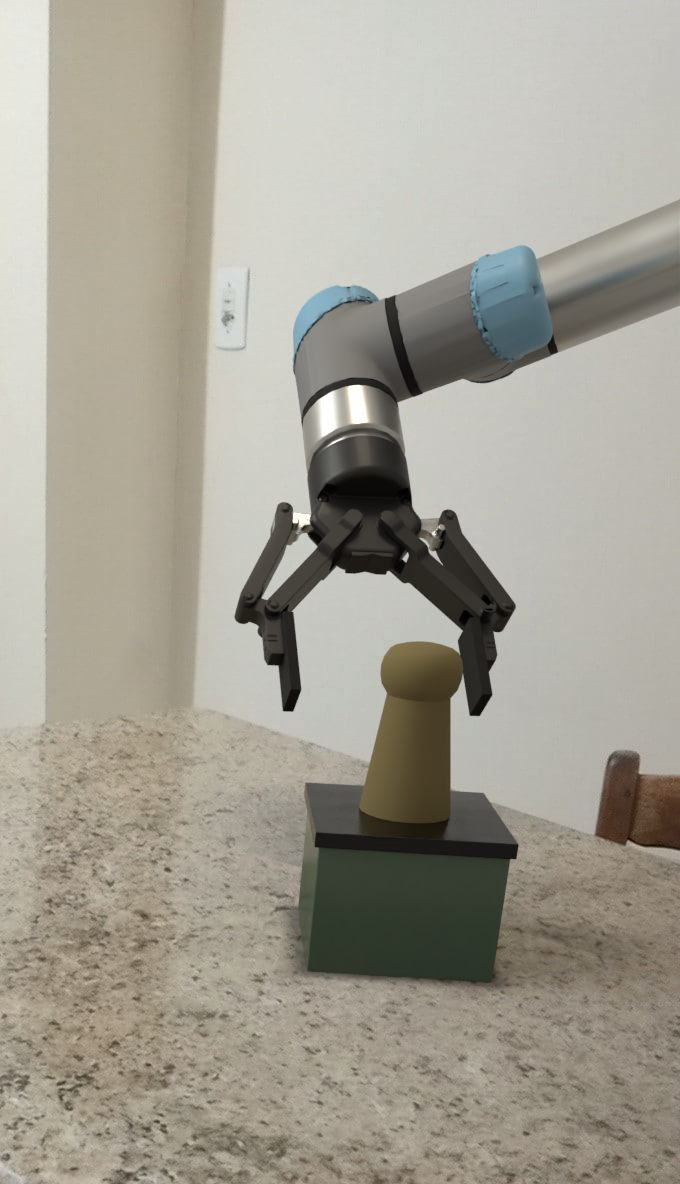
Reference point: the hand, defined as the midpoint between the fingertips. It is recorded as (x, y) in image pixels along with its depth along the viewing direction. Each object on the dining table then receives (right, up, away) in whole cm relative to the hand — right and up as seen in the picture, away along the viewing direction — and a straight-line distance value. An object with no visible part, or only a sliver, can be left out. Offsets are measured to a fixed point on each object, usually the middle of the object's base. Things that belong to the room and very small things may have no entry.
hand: (387, 703), depth 96 cm
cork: (0, -8, -5) cm, 9 cm away
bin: (0, -17, -1) cm, 17 cm away
